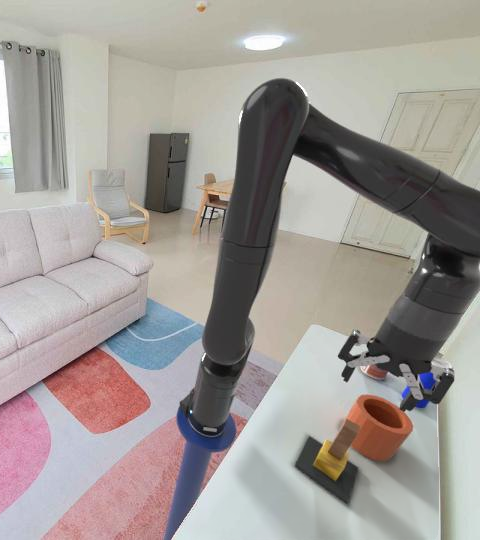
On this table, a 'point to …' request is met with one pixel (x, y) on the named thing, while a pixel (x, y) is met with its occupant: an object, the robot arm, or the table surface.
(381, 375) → the pill bottle
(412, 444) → the table surface
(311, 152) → the robot arm
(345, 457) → the sponge brush
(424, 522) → the table surface
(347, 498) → the mat
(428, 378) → the beverage can
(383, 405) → the jar
